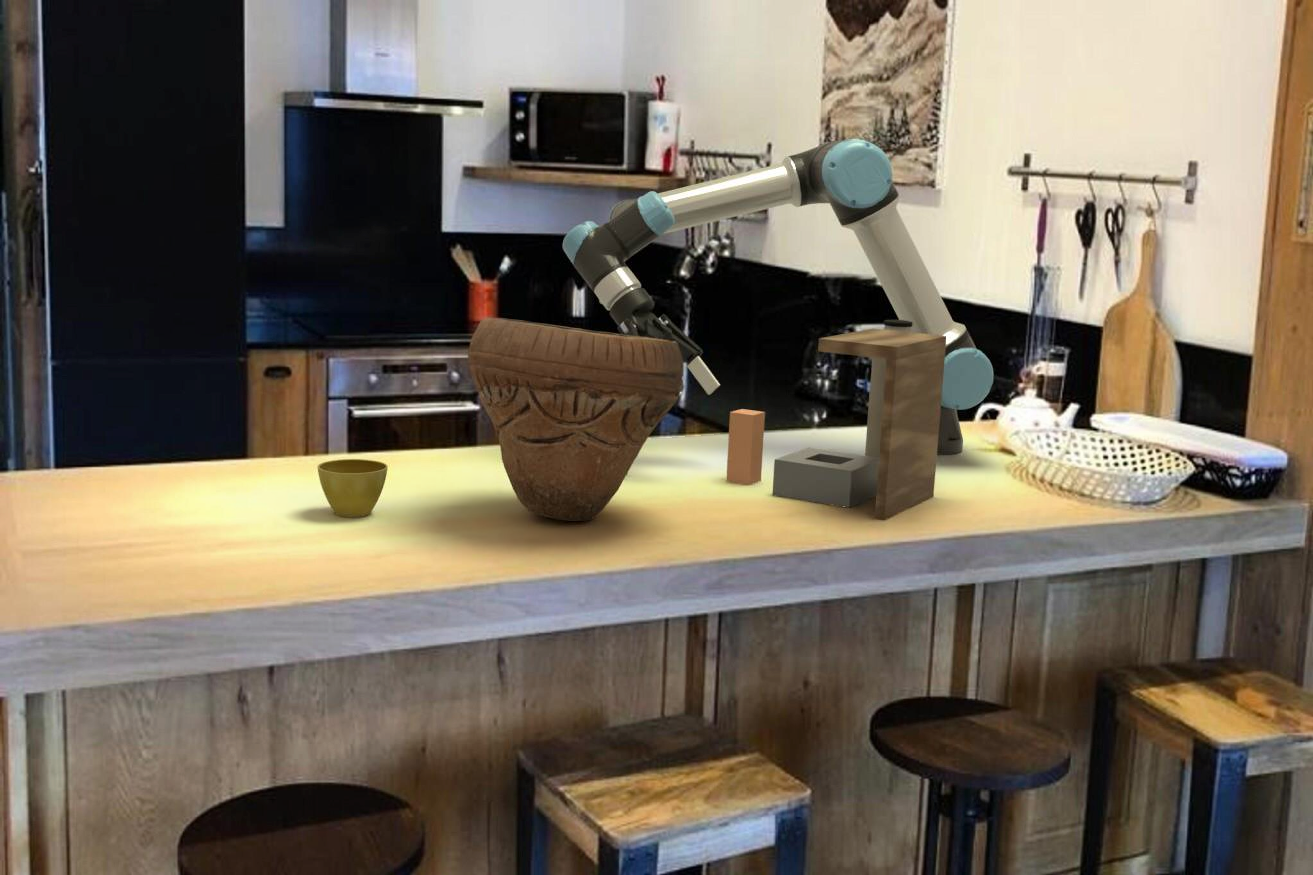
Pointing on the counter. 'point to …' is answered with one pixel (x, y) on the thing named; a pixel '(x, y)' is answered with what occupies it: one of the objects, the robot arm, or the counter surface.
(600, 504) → the pot
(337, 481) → the flower pot
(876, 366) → the thermos bottle
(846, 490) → the socket
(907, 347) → the wooden l-shaped bracket
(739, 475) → the peg
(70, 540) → the counter surface
